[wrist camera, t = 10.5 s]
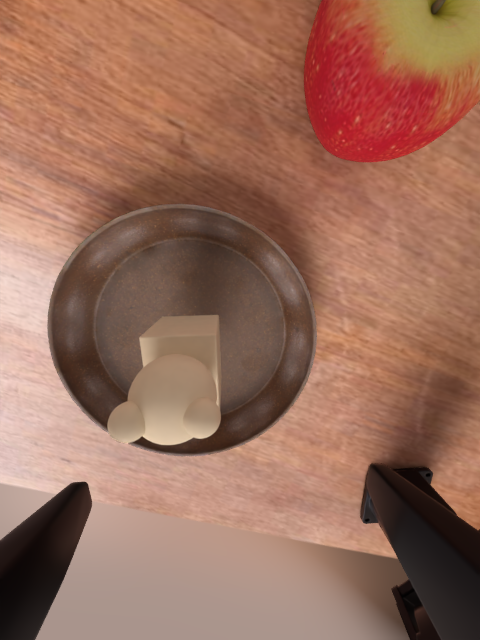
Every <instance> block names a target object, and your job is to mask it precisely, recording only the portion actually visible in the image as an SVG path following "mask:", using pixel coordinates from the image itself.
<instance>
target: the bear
mask: <svg viewBox="0 0 480 640" xmlns="http://www.w3.org/2000/svg"><path fill="white" fill-rule="evenodd" d="M139 339H140V347H141V354H142V361H143V368H142V370H141V371H140V372H139V373H138V374H137V376H136V377H135V379H134V381H133V382H132V385H131V387H130V390H129V394H128V401H127V402H124V403H122V404H120V405H119V406H117V407H116V408H115V409H114V410H113V411H112V413H111V415H110V417H109V419H108V425H107V427H108V432H109V434H110V436H111V437H112V438H113V439H114V440H115V441H117V442H120V443H130V442H133V441H136V440H138V439H139V438H140V437H142V436H143V437H144V438H145V439H147V440H149V441H151V442H153V443H156V444H161V445H175V444H180V443H183V442H186V441H188V440H190V439H192V438H193V437H194V438H199V439H202V438H207V437H209V436H211V435H212V434H213V433H214V432H215V431H216V430H217V429H218V427H219V424H220V421H221V412H220V399H221V354H220V331H219V315H199V316H167V317H161V318H160V319H159V320H158V321H157V322H156V323H155V324H154V325H153V326H151V327H150V328H149V329H148V330H147V331H146V332H145V333H144V334H142V335H141V336H140V338H139Z"/></svg>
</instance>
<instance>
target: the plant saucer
mask: <svg viewBox="0 0 480 640" xmlns="http://www.w3.org/2000/svg"><path fill="white" fill-rule="evenodd" d="M199 315H219V331H220V354H221V399H220V412H221V421H220V424H219V427H218V429H217V430H216V431H215V432H214V433H213V434H212V435H211V436H209V437H207V438H202V439H199V438H194V437H193V438H192V439H190V440H188V441H186V442H183V443H180V444H175V445H161V444H156V443H153V442H151V441H149V440H147V439H145V438H144V437H143V436H142V437H140V438H139V439H138V440H136V441H133V442H130V443H128V444H130V445H132V446H135V447H138V448H141V449H144V450H147V451H151V452H155V453H160V454H166V455H174V456H203V455H210V454H214V453H219V452H223V451H227V450H230V449H232V448H235V447H238V446H241V445H243V444H245V443H247V442H249V441H251V440H253V439H255V438H257V437H258V436H260V435H261V434H263V433H264V432H266V431H267V430H268V429H270V428H271V427H272V426H273V425H275V424H276V423H277V422H278V421H279V420H280V419H281V418H282V417H283V416H284V415H285V414H286V413H287V412H288V411H289V409H290V408H291V407H292V406H293V404H294V403H295V402H296V400H297V398H298V397H299V395H300V394H301V392H302V390H303V388H304V386H305V384H306V382H307V380H308V377H309V374H310V371H311V368H312V365H313V361H314V356H315V351H316V340H317V329H316V318H315V312H314V308H313V303H312V300H311V296H310V294H309V291H308V288H307V286H306V284H305V282H304V280H303V278H302V276H301V274H300V272H299V271H298V269H297V268H296V266H295V265H294V263H293V262H292V261H291V259H290V258H289V257H288V255H287V254H286V253H285V252H284V251H283V250H282V248H281V247H280V246H279V245H278V244H277V243H275V242H274V241H273V240H272V239H271V238H270V237H269V236H267V235H266V234H265V233H264V232H263V231H261V230H260V229H258V228H256V227H255V226H253V225H251V224H250V223H248V222H246V221H244V220H242V219H240V218H238V217H236V216H234V215H231V214H229V213H226V212H223V211H220V210H217V209H213V208H209V207H205V206H199V205H190V204H164V205H156V206H150V207H146V208H142V209H138V210H135V211H132V212H129V213H126V214H124V215H122V216H120V217H117V218H115V219H113V220H111V221H110V222H108V223H107V224H105V225H103V226H102V227H100V228H99V229H97V230H96V231H95V232H93V233H92V234H91V235H90V236H88V237H87V238H86V239H85V240H84V241H83V242H82V243H81V244H80V245H79V246H78V247H77V248H76V249H75V251H74V252H73V253H72V254H71V256H70V257H69V258H68V260H67V262H66V263H65V264H64V266H63V269H62V270H61V272H60V273H59V276H58V278H57V280H56V283H55V286H54V288H53V292H52V295H51V299H50V305H49V311H48V339H49V347H50V351H51V355H52V359H53V362H54V366H55V368H56V370H57V373H58V375H59V377H60V379H61V381H62V383H63V385H64V387H65V389H66V390H67V391H68V393H69V395H70V396H71V398H72V399H73V401H74V402H75V403H76V404H77V405H78V406H79V407H80V409H81V410H82V411H83V412H84V413H85V414H86V415H87V416H88V417H89V418H90V419H91V420H92V421H93V422H94V423H96V424H97V425H98V426H99V427H101V428H102V429H103V430H105V431H106V432H108V427H107V425H108V419H109V417H110V415H111V413H112V411H113V410H114V409H115V408H116V407H117V406H119V405H120V404H122V403H124V402H127V401H128V394H129V390H130V387H131V385H132V382H133V381H134V379H135V377H136V376H137V374H138V373H139V372H140V371H141V370H142V368H143V361H142V354H141V347H140V339H139V338H140V336H141V335H142V334H144V333H145V332H146V331H147V330H148V329H149V328H150V327H151V326H153V325H154V324H155V323H156V322H157V321H158V320H159V319H160V318H161V317H167V316H199ZM108 433H109V432H108Z"/></svg>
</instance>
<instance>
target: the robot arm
mask: <svg viewBox="0 0 480 640" xmlns="http://www.w3.org/2000/svg"><path fill="white" fill-rule="evenodd" d="M432 476H433V472H432V471H431V470H430V469H429V468H427V467H422V468H407V469H391V468H389V467H388V466H386V465H385V464H382V463H377V464H371V465H370V466H369V470H368V474H367V478H366V485H365V491H364V497H363V503H362V509H361V516H360V517H361V519H362V521H363V523H365V524H368V523H379V525H380V527H381V529H382V530H383V532H384V534H385V535H386V537H387V539H388V541H389V542H390V544H391V546H392V548H393V549H394V551H395V553H396V555H397V557H398V559H399V561H400V563H401V565H402V567H403V569H404V571H405V572H406V574H407V576H408V578H409V579H408V580H407V581H406V582H404V583H403V584H401V585H400V586H397V585H396V586H395V587H393V588H392V592H393V595H394V597H395V600H396V602H397V607H398V610H399V612H400V615H401V618H402V620H403V623H404V625H405V628H406V630H407V633H408V635H409V638H410V640H480V530H477V529H475V528H474V527H472V526H471V525H469V524H468V523H467V522H465V521H464V520H462V519H461V518H460V517H458V516H457V514H456V513H455V511H454V510H453V509H452V508H451V507H450V506H449V505H448V504H447V503H446V502H445V500H444V499H443V498H442V497H441V496H440V495H439V494H438V493H437V492H436V491H435V489H434V488H433V487H432V486H431V485H430V484H431V480H432ZM91 507H92V499H91V495H90V491H89V487H88V484H87V483H86V482H74V483H71V484H70V485H68V486H67V487H66V488H64V489H63V490H62V491H61V492H59V493H58V494H57V495H56V496H55V497H53V498H52V499H51V500H50V501H48V502H47V503H46V504H45V505H44V506H42V507H41V508H40V509H38V510H37V511H36V512H35V513H33V514H32V515H31V516H30V517H28V518H27V519H26V520H25V521H23V522H22V523H21V524H20V525H19V526H17V527H16V528H15V529H14V530H12V531H11V532H10V533H9V534H7V535H6V536H5V537H4V538H2V539H1V540H0V640H35V639H36V637H37V635H38V633H39V630H40V628H41V626H42V624H43V622H44V620H45V618H46V615H47V614H48V611H49V609H50V607H51V605H52V603H53V601H54V599H55V597H56V595H57V593H58V590H59V588H60V586H61V584H62V581H63V579H64V577H65V575H66V572H67V570H68V567H69V565H70V562H71V560H72V557H73V555H74V552H75V549H76V547H77V544H78V542H79V539H80V537H81V534H82V531H83V529H84V526H85V524H86V521H87V519H88V516H89V513H90V511H91Z"/></svg>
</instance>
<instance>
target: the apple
mask: <svg viewBox="0 0 480 640" xmlns="http://www.w3.org/2000/svg"><path fill="white" fill-rule="evenodd" d="M304 91H305V99H306V105H307V110H308V114H309V118H310V121H311V124H312V127H313V129H314V131H315V134H316V136H317V138H318V139H319V141H320V143H321V144H322V145H323V147H324V148H325V149H326V150H327V151H328V152H330V153H331V154H333V155H335V156H337V157H339V158H342V159H346V160H351V161H356V162H378V161H386V160H391V159H395V158H398V157H401V156H404V155H407V154H409V153H412V152H414V151H416V150H418V149H420V148H422V147H424V146H426V145H427V144H429V143H430V142H432V141H434V140H435V139H437V138H438V137H439V136H441V135H442V134H443V133H445V132H446V131H447V130H448V129H450V128H451V127H452V126H453V125H455V124H456V123H457V122H458V121H459V120H460V119H462V118H463V117H464V116H465V115H466V114H467V113H468V112H469V111H470V110H471V109H472V108H473V107H474V106H475V105H476V104H477V103H478V102H479V101H480V0H322V1H321V3H320V6H319V8H318V11H317V14H316V17H315V20H314V23H313V27H312V30H311V34H310V37H309V41H308V46H307V52H306V58H305V66H304Z"/></svg>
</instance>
